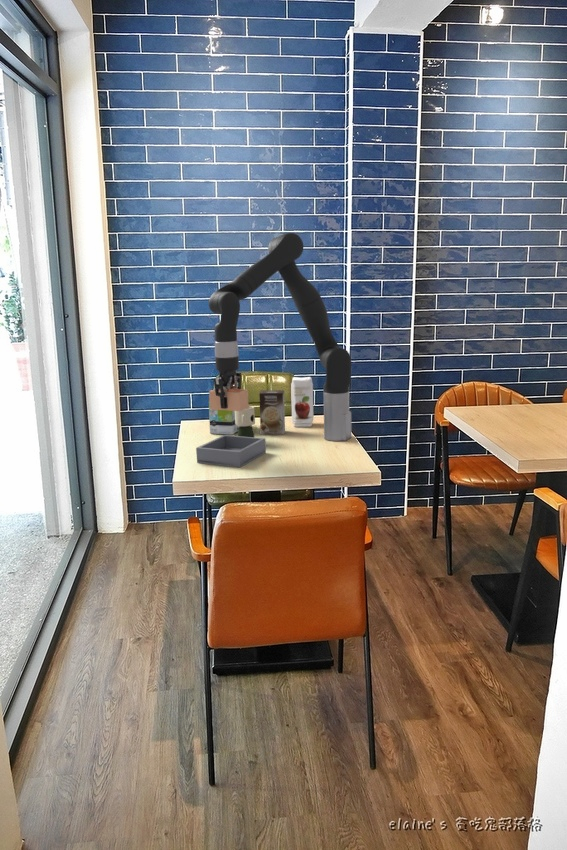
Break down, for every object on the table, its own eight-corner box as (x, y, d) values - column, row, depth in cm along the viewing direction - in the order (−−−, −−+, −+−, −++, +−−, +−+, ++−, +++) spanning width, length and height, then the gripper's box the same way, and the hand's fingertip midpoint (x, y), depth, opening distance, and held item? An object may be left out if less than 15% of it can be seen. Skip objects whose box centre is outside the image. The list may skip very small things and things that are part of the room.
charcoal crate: (265, 452, 222) (265, 438, 221) (240, 467, 206) (239, 452, 205) (224, 448, 229) (224, 434, 227) (197, 462, 213) (196, 447, 212)
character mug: (254, 446, 231) (253, 410, 228) (234, 446, 231) (232, 410, 228) (256, 438, 241) (255, 404, 238) (237, 439, 242) (235, 404, 239)
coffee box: (259, 435, 246) (258, 393, 243) (262, 431, 252) (260, 390, 249) (284, 434, 245) (282, 392, 242) (285, 430, 252) (284, 389, 248)
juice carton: (292, 423, 264) (291, 376, 259) (314, 422, 263) (312, 376, 259) (291, 427, 256) (290, 379, 252) (313, 427, 256) (312, 379, 251)
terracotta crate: (248, 407, 214) (247, 389, 212) (239, 411, 209) (238, 392, 207) (219, 405, 219) (218, 387, 217) (210, 409, 213) (209, 391, 212)
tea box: (234, 435, 248) (232, 396, 244) (209, 434, 250) (207, 396, 247) (246, 426, 262) (244, 389, 258) (223, 425, 264) (221, 389, 261)
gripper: (225, 358, 202) (228, 411, 206) (247, 352, 214) (249, 402, 218) (204, 357, 205) (208, 410, 209) (227, 352, 217) (230, 401, 221)
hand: (229, 406), depth 213 cm, fingers closed on terracotta crate, 6 cm apart
